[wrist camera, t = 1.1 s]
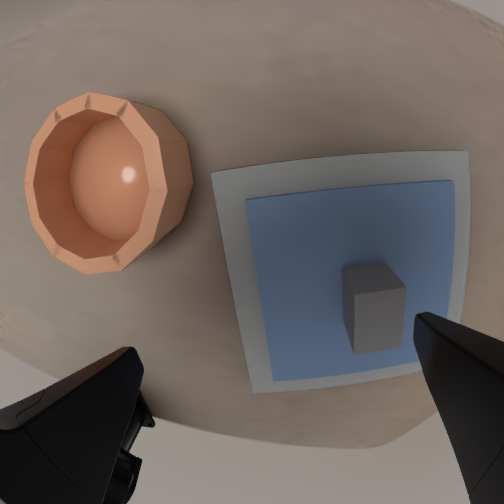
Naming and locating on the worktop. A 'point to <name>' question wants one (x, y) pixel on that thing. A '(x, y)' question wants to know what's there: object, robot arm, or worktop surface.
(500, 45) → the worktop surface
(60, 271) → the worktop surface
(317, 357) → the cover sheet
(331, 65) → the worktop surface
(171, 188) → the bowl
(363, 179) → the mat
